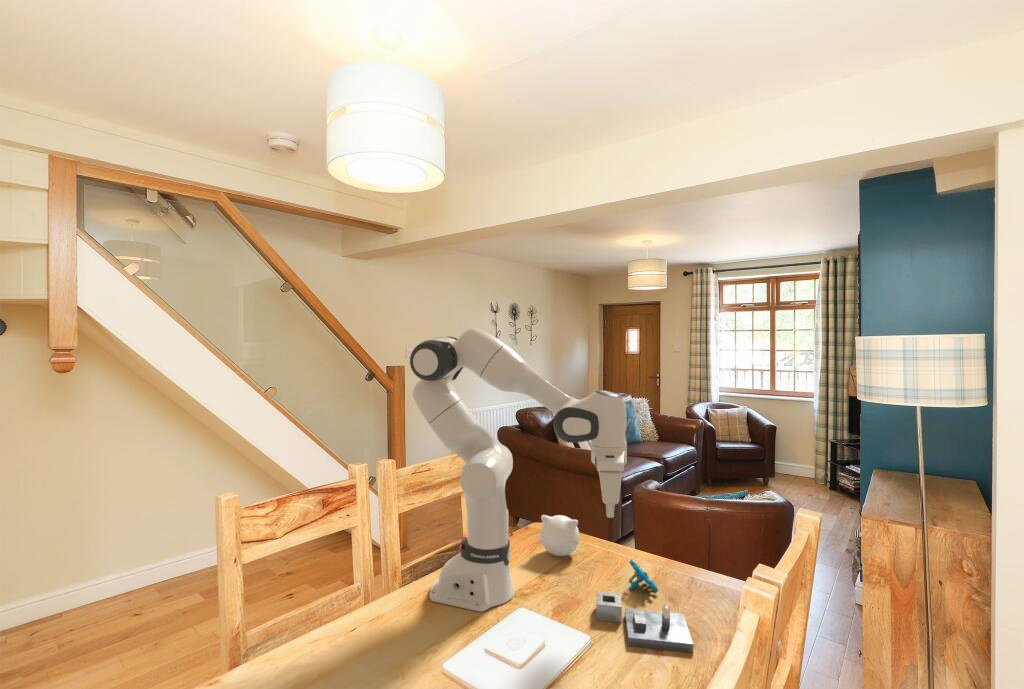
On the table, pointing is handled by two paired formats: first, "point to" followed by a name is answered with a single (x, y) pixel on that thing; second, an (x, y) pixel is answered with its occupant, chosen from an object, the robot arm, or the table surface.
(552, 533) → the cat head
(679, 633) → the shaft stand
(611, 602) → the collar
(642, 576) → the gear
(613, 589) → the table surface
